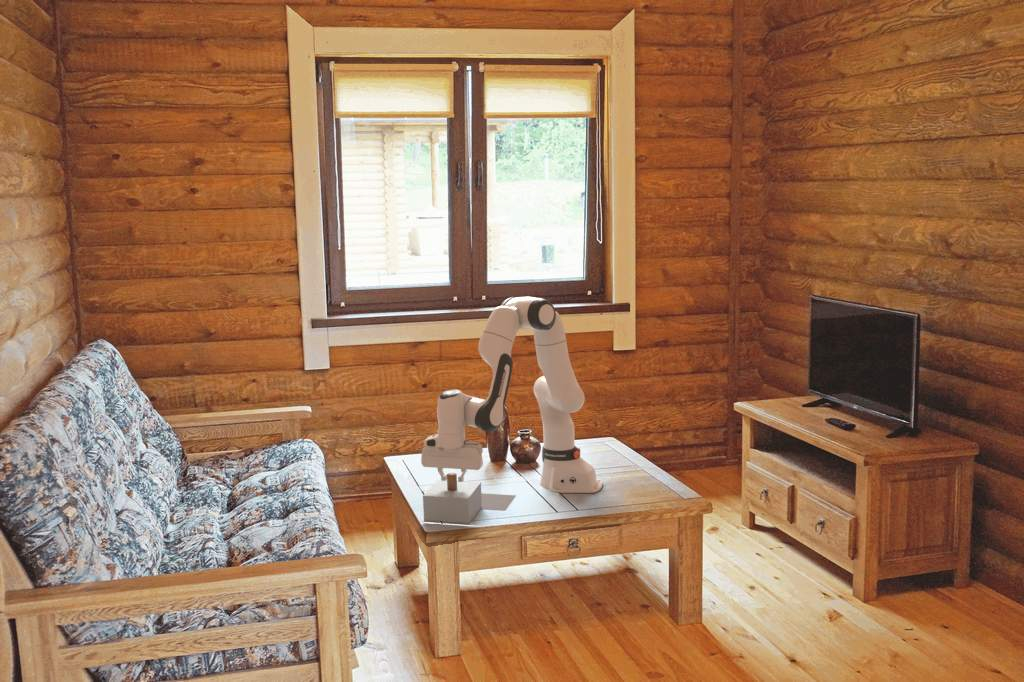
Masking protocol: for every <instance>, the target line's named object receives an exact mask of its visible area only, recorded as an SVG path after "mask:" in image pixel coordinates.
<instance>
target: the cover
mask: <svg viewBox="0 0 1024 682" xmlns="http://www.w3.org/2000/svg"><path fill="white" fill-rule="evenodd" d="M446 475H447V480H446V481H441V479H437V480H436V481H434V483H433V484H432V485H431V486H430V487H429V489H427V491H425V493H423V495H422V506H423V507H422V508H423V520H424V521H431V522H443V523H442V524H445V523H446V524H447V523H453V524H455V525H457V524H458V525H461V524H470V523H471V521H472V520H473V519H474V518H475V516H476V515H477V514H478V513H479V512H480V511H481V510H482V509H481V508H482V499H481V493H482V482H479V481H478V482H477V481H463V482H458V476H457V475H458V474H457V473H456V472H449V473H447V474H446Z"/></svg>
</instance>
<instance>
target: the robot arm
mask: <svg viewBox="0 0 1024 682" xmlns="http://www.w3.org/2000/svg"><path fill="white" fill-rule="evenodd" d="M520 329H522V330H532V332H533V339H534V347H535V353H536V359H537V364H538V365H537V366H538V367H539V369H540V370H541V372H542V375H541V376H539V377H538V378H537V379H536V380H535V382H534V383H533V393H534V396H535V398H536V400H537V404H538V408H539V412H540V418H541V420H542V421H541V423H542V431H543V436H542V437H543V439H542V440H543V442H542V443H543V446H542V449H541V459H542V471H541V477H540V480H539V486H540V487H542V488H543V489H547V490H549V491H550V492H555V493H558V494H562V493H563V494H566V493H567V494H570V493H571V494H574V493H575V494H577V493H579V494H584V493H585V494H587V493H588V494H589V493H591V494H592V493H597V492H598V491H600V490H601V489H602V488H603V481H602V480H601V479H600V478H597V473H596V470H595V467H594V466H593V465H592V464H591V463H589V462H587V461H586V460H585V459H584V458H582V457H581V447H577V446H576V445H575V424H574V421H573V419H572V417H571V414H573V413H576V412H579V411H580V410H581V409H582V408H583V406H584V404H585V399H586V398H585V393H584V391H583V389H582V388H581V386H580V384H579V383H578V380H577V378H576V375H575V372H574V369H573V366H572V363H571V360H570V355H569V349H568V343H567V337H566V332H565V327H564V324H563V320H562V318H561V315H560V313H559V312H558V311H556V308H555V306H554V305H553V303H552V302H551V301H550V300H548V299H545V298H543V297H536V296H511V297H509V298H506V299H505V300H503V302H502V303H501V304H500V305H499V306H496V307H495V308H494V309H493V310H492V312H491V314H490V315H489V317H488V319H487V321H486V323H485V325H484V327H483V330H482V332H481V335H480V338H479V340H478V346H477V350H478V353H479V356H480V357H481V359H482V360H483V361H484V362H485V363H486V364H487V365H489V366H490V368H491V370H492V377H491V378H492V379H491V384H490V387H489V391H488V396H487V397H486V399H485V398H479V397H477V396H473V395H468V394H466V393H464V392H462V391H461V389H460V390H459V389H455V388H454V389H449V390H448V389H447V390H445V391H443V392H441V393H440V394H439V395H438V398H437V403H436V404H437V405H436V416H437V417H436V419H437V422H438V429H437V433H435V434H432V435H431V434H430V435H429V436H427V438H425V439H424V440H423V448H422V449H421V450H422V451H421V457H420V460H421V461H420V462H421V465H422V467H423V468H433V469H434V468H435V469H436V468H437V473H438V474H439V476H440V480H441V481H446V480H447V474H446V473H445V472H444V471H443V470H444V469H454V470H460V473H461V474H460V475H458V476H457V481H458V482H463V481H464V479H465V477H464V476H465V475H466V473H467V472H468V471H467V470H471V471H479V470H480V469H482V467H483V466H484V460H483V451H484V450H483V445H482V443H480V442H479V441H476V440H474V441H472V440H466V430H465V429H466V428H465V427H466V426H467V427H468V426H469V427H472V428H476V429H479V430H481V431H484V432H486V433H493V432H494V431H496V430H498V429H499V428H500V426H501V425H503V422H504V419H505V412H506V411H505V410H506V403H507V402H506V400H507V398H508V397H507V396H508V393H509V387H510V382H511V378H512V372H513V369H514V368H513V366H514V365H513V364H514V362H513V358H512V349H513V346H514V343H515V339H516V336H517V333H518V332H519V330H520Z"/></svg>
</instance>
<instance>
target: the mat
mask: <svg viewBox="0 0 1024 682" xmlns="http://www.w3.org/2000/svg"><path fill="white" fill-rule="evenodd" d="M516 497H517V495H516V494H500V493H498V494H497V493H486V492H485V493H484V492H483V493H482V492H481V499H482V508H481V509H480V510H489V511H503V512H505V511H507V509H508V508H509V507H510V505H511V503H512V502H513V500H514V499H515V498H516Z"/></svg>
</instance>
